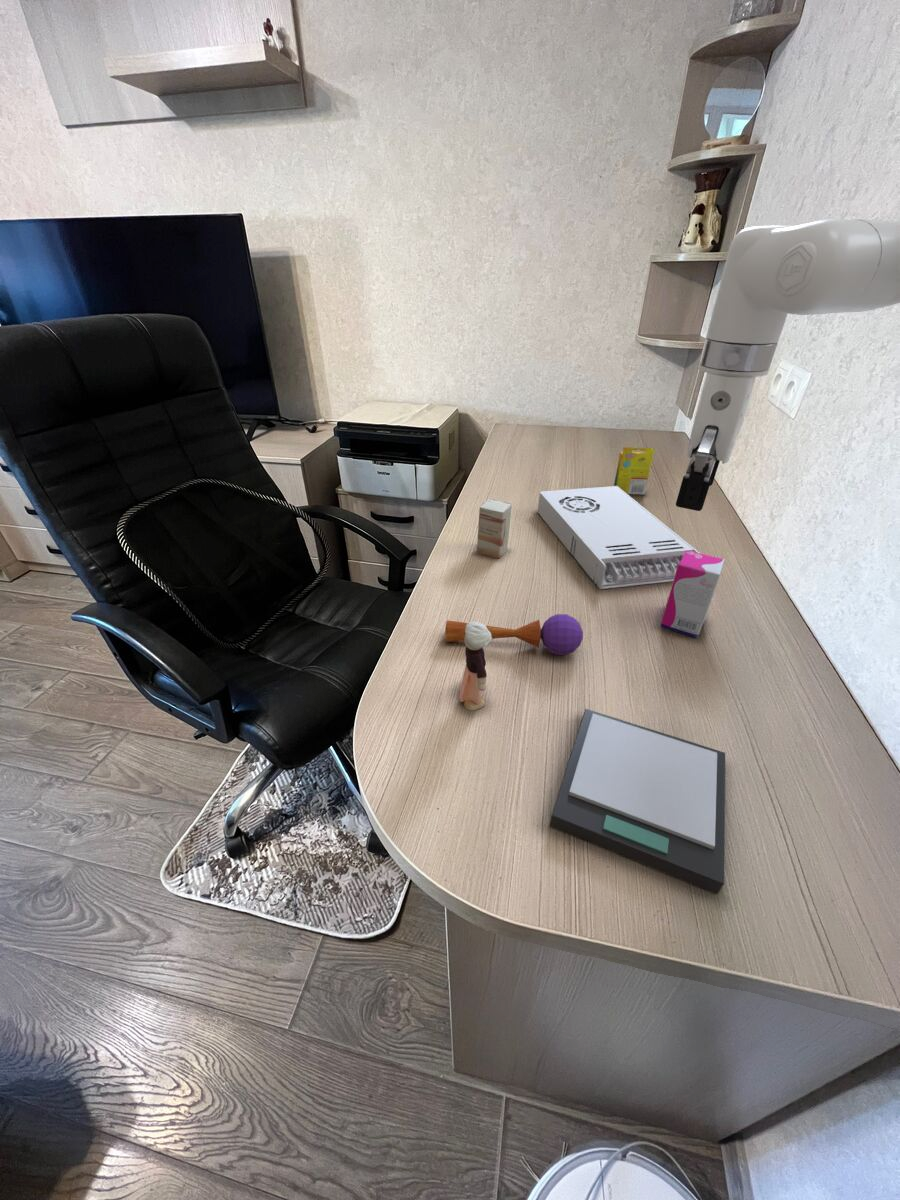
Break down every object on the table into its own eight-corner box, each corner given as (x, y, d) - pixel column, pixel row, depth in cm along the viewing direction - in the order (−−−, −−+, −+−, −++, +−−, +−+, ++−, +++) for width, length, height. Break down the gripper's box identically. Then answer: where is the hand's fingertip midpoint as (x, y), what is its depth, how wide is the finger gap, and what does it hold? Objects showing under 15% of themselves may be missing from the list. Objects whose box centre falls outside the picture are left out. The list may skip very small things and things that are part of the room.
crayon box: (642, 490, 126) (653, 444, 119) (644, 495, 123) (656, 448, 117) (612, 489, 126) (621, 443, 120) (614, 493, 124) (623, 447, 117)
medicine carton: (475, 553, 99) (477, 506, 93) (485, 544, 102) (487, 497, 96) (500, 559, 97) (503, 511, 91) (508, 550, 100) (512, 503, 94)
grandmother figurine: (449, 685, 69) (449, 610, 61) (474, 678, 70) (478, 604, 63) (470, 725, 63) (473, 648, 56) (498, 717, 64) (504, 640, 57)
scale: (720, 763, 58) (727, 749, 57) (717, 894, 46) (726, 880, 45) (583, 719, 64) (586, 704, 62) (549, 826, 52) (552, 811, 50)
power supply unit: (599, 589, 88) (604, 565, 86) (536, 512, 115) (539, 491, 112) (695, 579, 91) (703, 555, 89) (613, 505, 118) (617, 485, 115)
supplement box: (704, 619, 81) (726, 558, 75) (697, 639, 77) (720, 576, 71) (667, 608, 84) (686, 548, 77) (658, 626, 80) (677, 564, 73)
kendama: (449, 605, 77) (581, 608, 74) (450, 639, 80) (579, 643, 77) (442, 622, 72) (585, 625, 69) (444, 658, 74) (583, 663, 71)
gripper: (767, 373, 51) (715, 526, 60) (775, 350, 63) (731, 480, 73) (689, 366, 54) (652, 512, 64) (711, 345, 66) (677, 471, 76)
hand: (694, 495), depth 68 cm, fingers open, 9 cm apart
